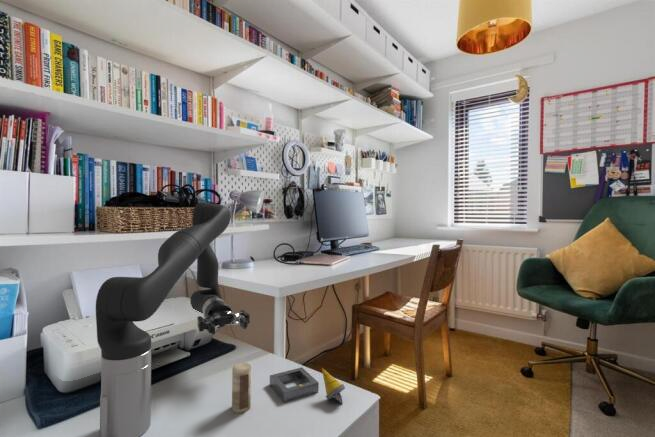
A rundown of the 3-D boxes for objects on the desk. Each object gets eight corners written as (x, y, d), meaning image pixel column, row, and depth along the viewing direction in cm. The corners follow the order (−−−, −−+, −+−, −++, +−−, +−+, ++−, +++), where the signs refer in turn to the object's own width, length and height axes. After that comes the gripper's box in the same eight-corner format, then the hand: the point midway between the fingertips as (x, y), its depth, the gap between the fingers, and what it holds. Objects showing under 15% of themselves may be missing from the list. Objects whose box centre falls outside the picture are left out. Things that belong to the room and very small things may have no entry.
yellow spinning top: (331, 412, 80) (310, 374, 85) (336, 410, 85) (316, 374, 89) (349, 398, 80) (327, 361, 85) (353, 397, 85) (332, 362, 90)
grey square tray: (284, 402, 83) (284, 391, 83) (269, 384, 91) (269, 374, 91) (318, 391, 88) (318, 381, 88) (301, 375, 97) (301, 366, 97)
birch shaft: (234, 415, 77) (235, 373, 77) (229, 405, 81) (230, 365, 81) (253, 409, 80) (253, 368, 79) (247, 400, 83) (247, 361, 83)
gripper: (192, 303, 101) (202, 318, 87) (239, 297, 108) (255, 310, 94) (192, 327, 101) (202, 346, 87) (239, 319, 108) (255, 336, 94)
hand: (229, 328), depth 90 cm, fingers open, 8 cm apart
